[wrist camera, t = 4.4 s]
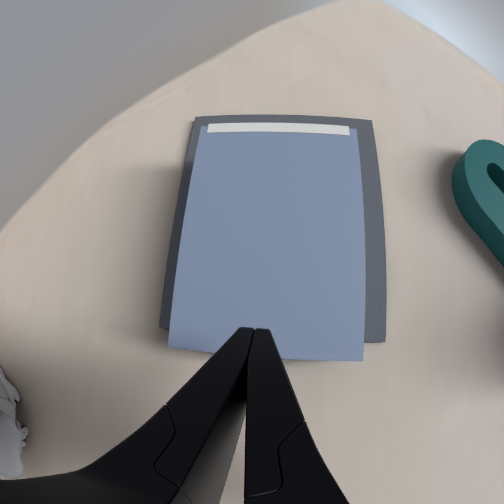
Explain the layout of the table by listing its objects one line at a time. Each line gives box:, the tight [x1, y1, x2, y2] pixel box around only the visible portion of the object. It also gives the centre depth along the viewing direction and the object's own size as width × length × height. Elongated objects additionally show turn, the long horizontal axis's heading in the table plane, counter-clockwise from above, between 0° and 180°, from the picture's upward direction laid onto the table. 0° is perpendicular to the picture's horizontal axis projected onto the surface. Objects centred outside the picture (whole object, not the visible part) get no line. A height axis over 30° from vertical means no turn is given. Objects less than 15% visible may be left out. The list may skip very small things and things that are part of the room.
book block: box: [168, 123, 366, 361], centre depth 15 cm, size 4×8×11 cm
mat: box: [159, 115, 386, 342], centre depth 18 cm, size 14×12×1 cm
